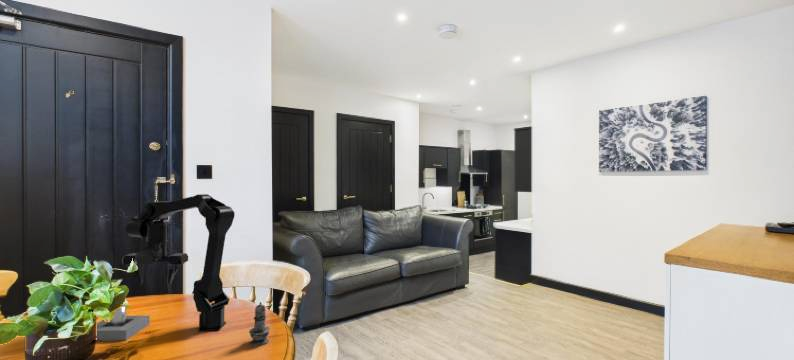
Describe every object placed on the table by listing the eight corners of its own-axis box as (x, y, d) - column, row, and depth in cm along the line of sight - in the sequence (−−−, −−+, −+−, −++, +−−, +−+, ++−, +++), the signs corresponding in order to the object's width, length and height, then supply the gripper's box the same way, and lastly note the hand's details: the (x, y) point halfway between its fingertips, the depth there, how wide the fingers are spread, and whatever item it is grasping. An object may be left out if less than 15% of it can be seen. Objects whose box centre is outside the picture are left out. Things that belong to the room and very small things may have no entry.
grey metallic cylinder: (128, 329, 115) (129, 304, 115) (120, 335, 111) (121, 308, 111) (115, 330, 115) (115, 304, 115) (106, 335, 111) (107, 309, 111)
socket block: (149, 324, 120) (149, 315, 120) (126, 340, 108) (126, 330, 108) (110, 325, 119) (110, 315, 119) (82, 341, 107) (82, 330, 107)
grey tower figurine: (262, 336, 113) (263, 297, 113) (273, 341, 110) (274, 301, 110) (244, 342, 108) (245, 302, 108) (256, 348, 105) (257, 306, 105)
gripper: (111, 241, 116) (110, 291, 116) (173, 242, 118) (172, 290, 118) (133, 236, 127) (131, 281, 127) (189, 237, 129) (188, 281, 129)
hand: (155, 283), depth 125 cm, fingers open, 9 cm apart
